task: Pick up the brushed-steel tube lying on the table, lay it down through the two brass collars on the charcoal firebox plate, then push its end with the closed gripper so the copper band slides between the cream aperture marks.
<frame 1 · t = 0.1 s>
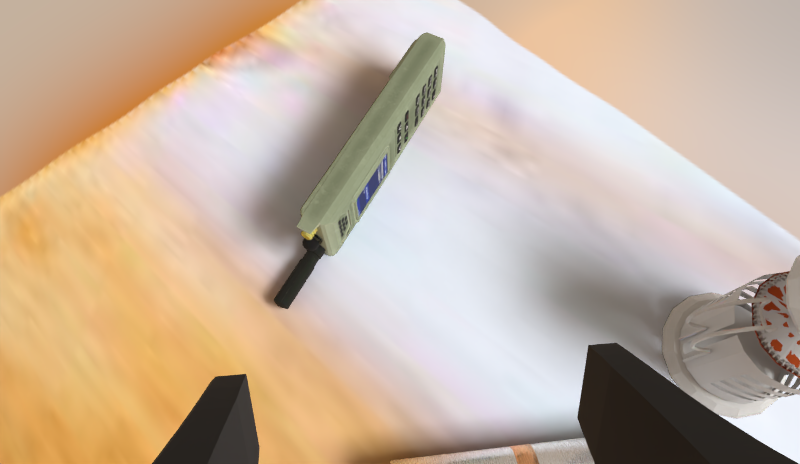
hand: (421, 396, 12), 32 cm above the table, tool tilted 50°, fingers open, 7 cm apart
handheld radio: (362, 188, 50), on the table
french press: (711, 353, 45), on the table
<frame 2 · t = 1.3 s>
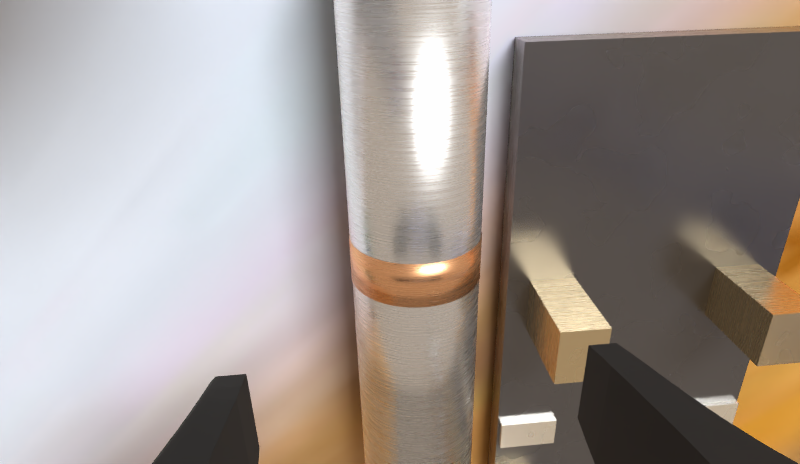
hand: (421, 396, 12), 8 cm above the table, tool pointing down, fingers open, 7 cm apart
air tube: (389, 227, 20), on the table, tilted 19°
firebox plate: (607, 403, 24), on the table
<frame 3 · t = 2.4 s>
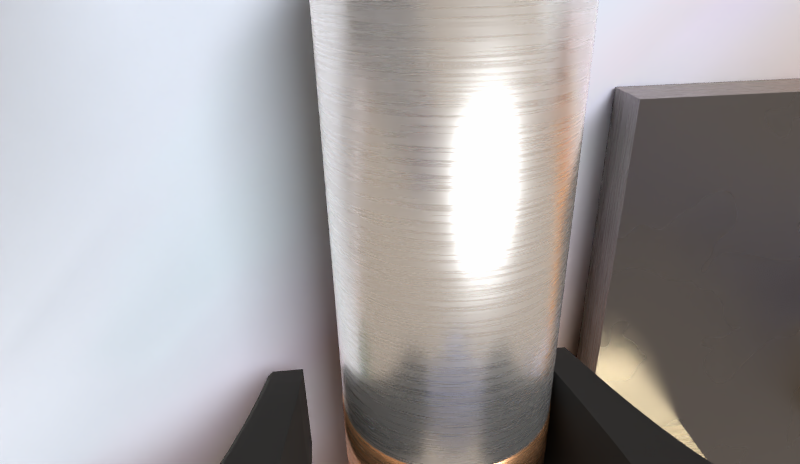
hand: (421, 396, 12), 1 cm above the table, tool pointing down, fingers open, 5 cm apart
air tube: (413, 355, 13), on the table, tilted 12°, touching gripper
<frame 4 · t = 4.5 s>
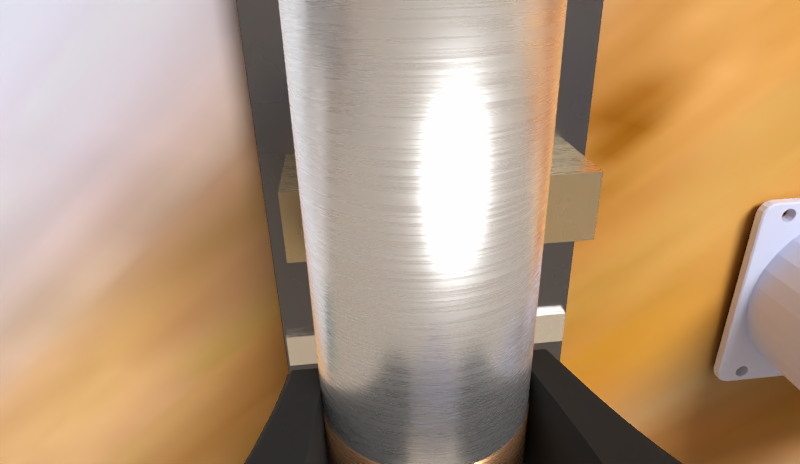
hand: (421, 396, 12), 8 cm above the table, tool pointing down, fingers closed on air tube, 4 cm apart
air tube: (409, 353, 13), point 7 cm above the table, touching gripper
firebox plate: (423, 319, 21), on the table
when the fingers open (3 cm above the table, at t = 6.3 s): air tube stays where it is, resting on firebox plate.
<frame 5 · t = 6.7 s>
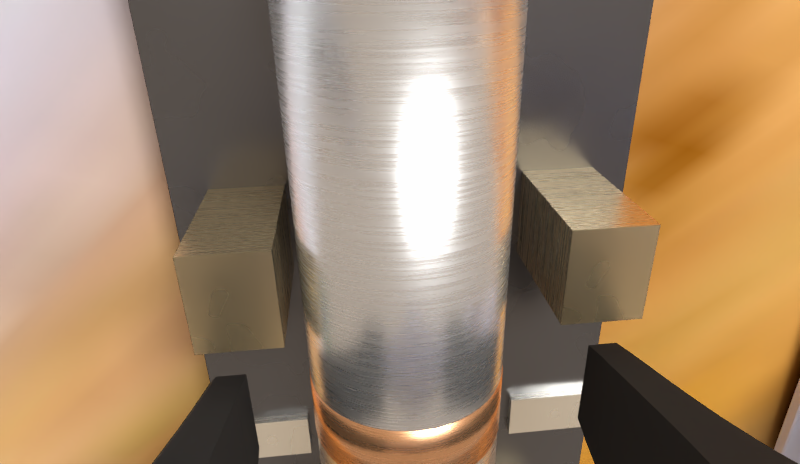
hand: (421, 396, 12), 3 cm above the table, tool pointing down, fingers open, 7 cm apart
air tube: (407, 330, 14), point 1 cm above the table, tilted 7°, touching firebox plate
firebox plate: (406, 394, 17), on the table
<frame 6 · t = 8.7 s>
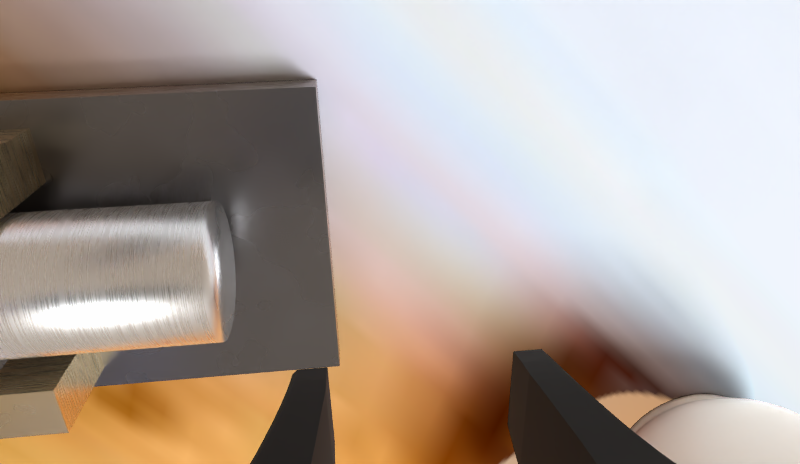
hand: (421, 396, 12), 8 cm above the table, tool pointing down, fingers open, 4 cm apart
lidded jar: (680, 442, 26), on the table
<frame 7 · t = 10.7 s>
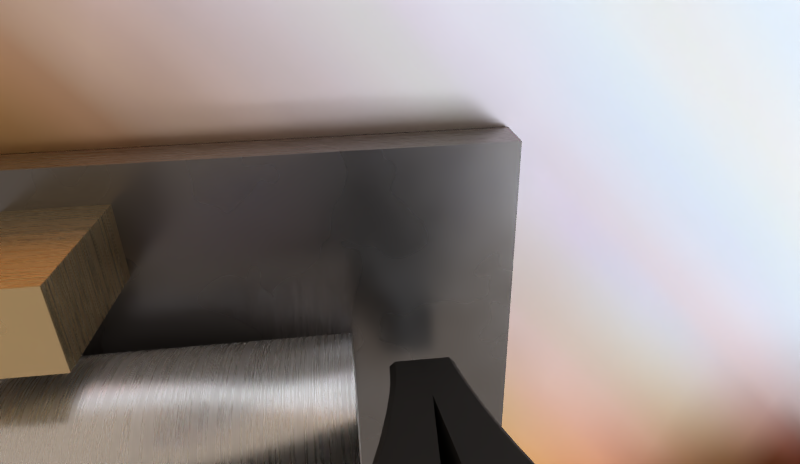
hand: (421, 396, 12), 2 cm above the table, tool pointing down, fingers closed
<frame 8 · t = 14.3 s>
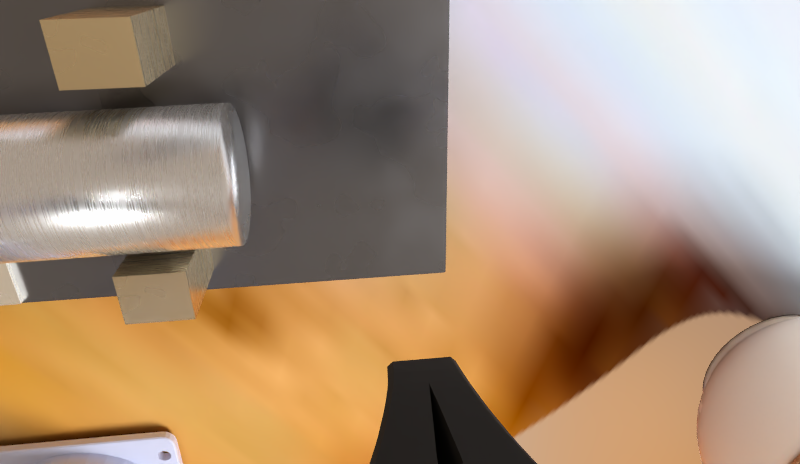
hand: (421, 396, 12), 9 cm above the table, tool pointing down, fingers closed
lidded jar: (765, 368, 26), on the table
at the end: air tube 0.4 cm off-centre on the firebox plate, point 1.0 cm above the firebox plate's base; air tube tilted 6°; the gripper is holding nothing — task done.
